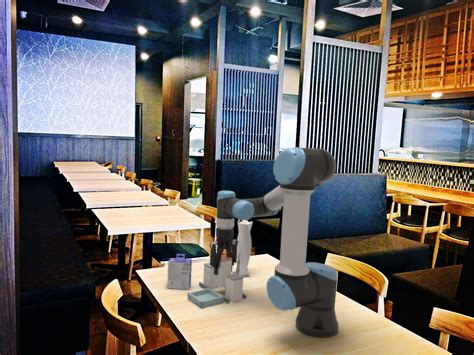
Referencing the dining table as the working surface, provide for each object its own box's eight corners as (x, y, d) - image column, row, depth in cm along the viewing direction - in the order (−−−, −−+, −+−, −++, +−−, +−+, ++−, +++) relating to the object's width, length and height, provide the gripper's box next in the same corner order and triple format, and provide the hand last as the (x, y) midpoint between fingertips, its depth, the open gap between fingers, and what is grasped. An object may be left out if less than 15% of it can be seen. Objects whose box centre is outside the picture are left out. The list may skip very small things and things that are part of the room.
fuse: (230, 285, 174) (231, 258, 173) (221, 287, 171) (222, 259, 170) (224, 281, 178) (225, 255, 177) (214, 283, 175) (215, 256, 174)
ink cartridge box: (191, 285, 181) (192, 253, 180) (189, 290, 176) (190, 257, 174) (169, 284, 181) (170, 252, 180) (166, 288, 176) (167, 256, 174)
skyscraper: (231, 271, 201) (234, 216, 198) (246, 270, 204) (249, 215, 200) (236, 277, 193) (239, 219, 190) (252, 276, 196) (255, 219, 192)
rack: (246, 298, 170) (247, 275, 169) (227, 303, 164) (228, 280, 163) (216, 281, 187) (217, 260, 186) (198, 285, 181) (199, 264, 180)
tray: (223, 302, 165) (223, 296, 164) (201, 308, 158) (201, 302, 158) (209, 293, 173) (209, 287, 173) (187, 298, 167) (187, 292, 166)
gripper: (236, 223, 181) (234, 274, 183) (202, 227, 170) (200, 281, 172) (247, 227, 175) (244, 279, 177) (212, 231, 164) (210, 287, 166)
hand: (222, 280), depth 175 cm, fingers closed on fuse, 5 cm apart
